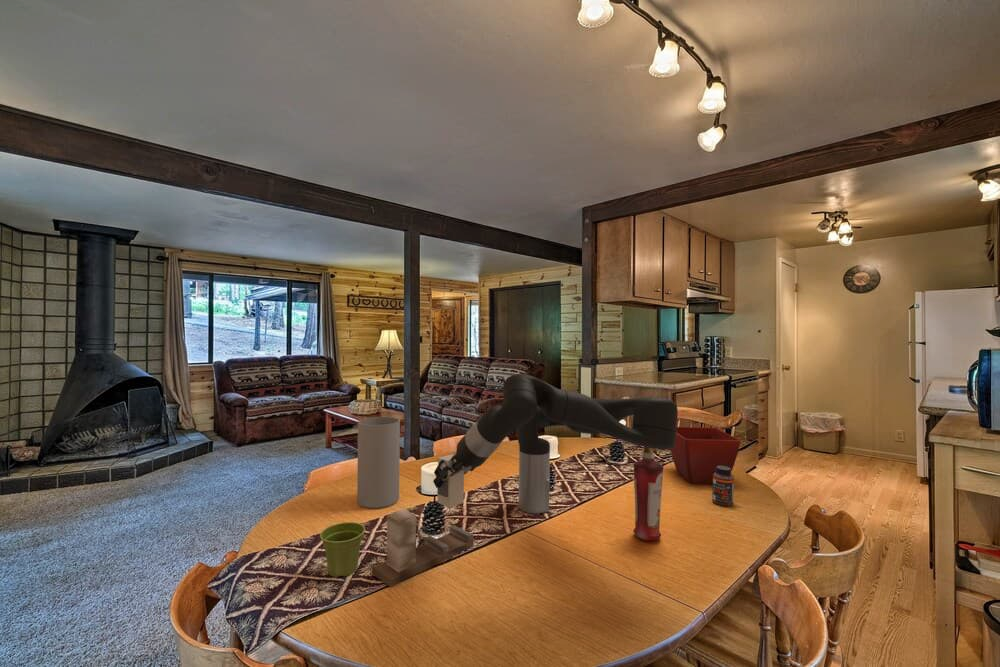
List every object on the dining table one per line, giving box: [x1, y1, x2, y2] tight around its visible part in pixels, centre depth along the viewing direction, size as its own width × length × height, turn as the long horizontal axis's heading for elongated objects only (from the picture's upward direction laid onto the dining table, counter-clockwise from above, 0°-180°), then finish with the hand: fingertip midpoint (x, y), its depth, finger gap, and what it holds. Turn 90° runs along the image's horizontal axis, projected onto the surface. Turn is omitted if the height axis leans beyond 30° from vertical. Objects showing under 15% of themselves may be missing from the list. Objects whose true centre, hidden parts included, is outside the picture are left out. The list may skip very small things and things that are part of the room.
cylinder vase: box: [356, 416, 401, 509], centre depth 136 cm, size 12×12×25 cm
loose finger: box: [436, 454, 465, 509], centre depth 107 cm, size 5×4×11 cm
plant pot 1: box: [319, 521, 366, 578], centre depth 97 cm, size 9×9×9 cm
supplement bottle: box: [711, 466, 735, 507], centre depth 138 cm, size 6×6×11 cm
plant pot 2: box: [670, 426, 741, 485], centre depth 161 cm, size 19×19×17 cm
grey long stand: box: [371, 508, 474, 588], centre depth 102 cm, size 24×7×12 cm, turn 138°
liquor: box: [633, 446, 664, 543], centre depth 114 cm, size 7×7×28 cm
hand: (445, 481), depth 109 cm, fingers closed on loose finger, 5 cm apart
